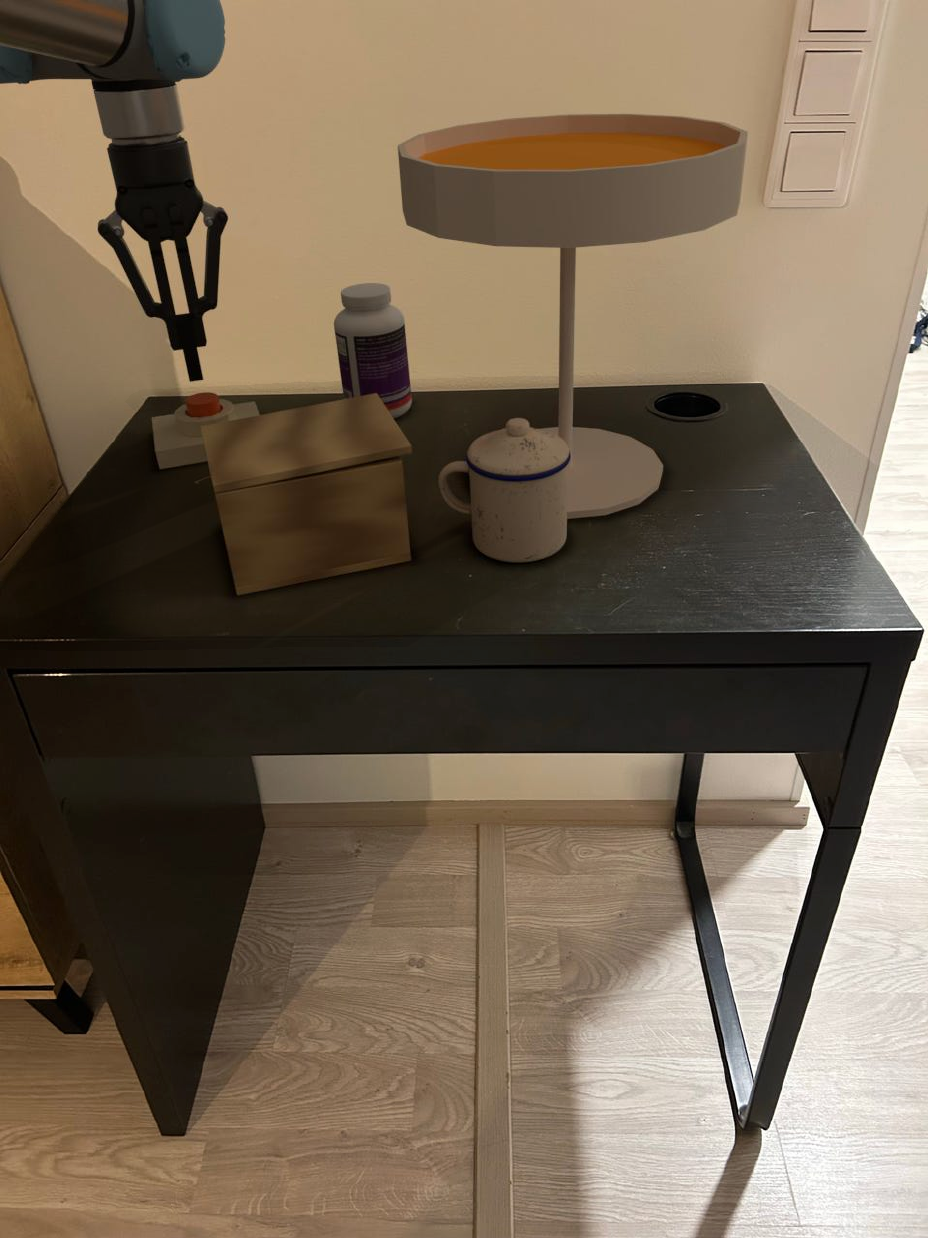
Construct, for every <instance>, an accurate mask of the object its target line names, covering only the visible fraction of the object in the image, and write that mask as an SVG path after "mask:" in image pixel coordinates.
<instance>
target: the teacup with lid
mask: <svg viewBox="0 0 928 1238" xmlns="http://www.w3.org/2000/svg"><path fill="white" fill-rule="evenodd" d="M538 429H539V428H534V427H531V426H530V422H529V421H528V420H527V419H525V418H522V417H514V418H510V419H509V420H508V421H507V422H506V423H505V428H502V429H498V430H493V431H491V432H487V433H486V434H483V435H481V436H480V437H478V438H476V439H475V440H474V441H473V442H472V443H471V444H470V445H469V447H468V449H467V453H466V455H465V460H463V461H462V460H458V461H457V460H456V461H452V462H449V463H448V464H446V465H445V466H444V467H443V468H442V469H441V471H440V473H439V475H438V479H437V483H438V484H437V485H438V489H439V493H440V495H441V497H442V499H443V500H444V502H445V503H446V504H447V505H448V506H449V507H450V508H451V509H453V510H454V511H456V512H458V513H460V514H463V515H469V516H471V530H472V533H471V534H472V542H473V543H474V546H475V548H476V550H478V551H479V552H480V553H481V554H483V555H484V556H486V557H488V558H491V559H494V560H495V561H496V560H497V561H500V562H507V563H529V562H530V563H531V562H536V561H539V560H543V559H546V558H548V557H551V556H553V555H555V554H556V553H557V552H559V551H560V550H561V549H562V548H563V546H564V545H565V543H566V540H567V538H568V537H567V536H568V535H567V533H568V532H567V531H568V519H567V480H568V463H569V461H570V458H571V454H570V451H569V448H568V446H567V444H566V443H565V441H564V440H563V439H561V438H560V437H559V436H557V435H555V434H553V433H550V432H547V431H543V430H538ZM452 473H465V474H466V473H467V474H469V473H470V476H469V490H470V491H469V492H470V503H468V502H464V501H462V500H460V499H459V498H458V497H456V496H455V494H454V493H453V492H452V489H451V488H450V485H449V480H448V479H449V475H450V474H452Z"/></svg>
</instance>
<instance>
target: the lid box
mask: <svg viewBox="0 0 928 1238" xmlns="http://www.w3.org/2000/svg"><path fill="white" fill-rule="evenodd" d="M403 466H404V465H403V461H402V459H401V458H400V456H396V457H391V458H386V459H381V460H376V461H372V462H367V463H362V464H357V465H352V466H347V467H342V468H337V469H332V470H327V471H323V472H318V473H313V474H308V475H303V476H298V477H293V478H288V479H283V480H278V481H274V482H269V483H264V484H259V485H254V486H249V487H244V488H239V489H234V490H229V491H225V492H220V493H215V492H214V491H213V492H214V497H215V502H216V507H217V510H218V511H217V512H218V516H219V520H220V525H221V529H222V534H223V538H224V543H225V547H226V552H227V557H228V561H229V565H230V570H231V574H232V579H233V584H234V590H235V593H236V596H242V595H249V594H252V593H257V592H261V591H267V590H273V589H277V588H283V587H288V586H292V585H296V584H300V583H307V582H312V581H317V580H321V579H326V578H332V577H336V576H341V575H346V574H352V573H356V572H361V571H367V570H371V569H377V568H381V567H386V566H391V565H396V564H402V563H406V562H411V561H412V554H411V544H410V533H409V522H408V521H409V520H408V511H407V500H406V499H407V498H406V490H405V478H404V467H403Z"/></svg>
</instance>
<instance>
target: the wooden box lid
mask: <svg viewBox="0 0 928 1238" xmlns="http://www.w3.org/2000/svg"><path fill="white" fill-rule="evenodd" d="M200 429H201V433H202V438H203V443H204V447H205V452H206V457H207V461H206V462H207V465H208V470H209V474H210V480H211V484H212V489H213V492H215V493H220V492H225V491H229V490H234V489H239V488H244V487H249V486H254V485H259V484H264V483H269V482H274V481H278V480H283V479H288V478H293V477H298V476H303V475H308V474H313V473H318V472H323V471H327V470H332V469H337V468H342V467H347V466H352V465H357V464H362V463H367V462H372V461H376V460H381V459H386V458H391V457H396V456H399V457H400V456H406V455H411V454H412V453H413V451H412V444H411V443H410V441H409V440H408V439H407V437H406V436H405V434H404V433H403V431H402V429H401V427H399V425H398V424H397V422H396V420H395V419H393V417H392V416H391V414H390V413H389V411H388V410H387V408H386V407H385V405H384V404H383V402H382V400H381V399H380V397H379V396H378V394H377V393H375V394H369V395H364V396H359V397H353V398H348V399H344V398H343V399H337V400H333V401H327V402H322V403H316V404H312V405H307V406H301V407H296V408H290V409H285V410H279V411H275V412H269V413H265V414H260V415H258V416H253V417H248V418H242V419H237V420H232V421H227V422H221V423H216V424H211V425H205V426H201V427H200ZM215 493H214V494H215Z"/></svg>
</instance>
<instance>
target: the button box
mask: <svg viewBox="0 0 928 1238" xmlns="http://www.w3.org/2000/svg"><path fill="white" fill-rule="evenodd" d="M219 403H220V408H221V411H220V412H219V413H217V414H215V415H212V416H207V417H190V416H189V415H188V411H187V407H186V403H185V404H182V405H181V406H179V407H178V408H177V409H176V410H174V411H173V412H174V413H171V414H165V415H158V416H152V417H151V426H152V427H151V428H152V435H153V445H154V452H155V456H156V461H157V465H158V469H159V470H164V469H170V468H171V469H172V468H177V467H183V466H189V465H195V464H201V463H205V462H208V461H207V457H206V452H205V447H204V443H203V438H202V433H201V429H200V427H201V426H205V425H211V424H216V423H221V422H227V421H232V420H237V419H242V418H248V417H253V416H258V415H261V414H260V412H259V409H258V407H257V404H256V401H247V402H241V403H240V402H239V403H233V401H229V400H227V399H224V398H219Z"/></svg>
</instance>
